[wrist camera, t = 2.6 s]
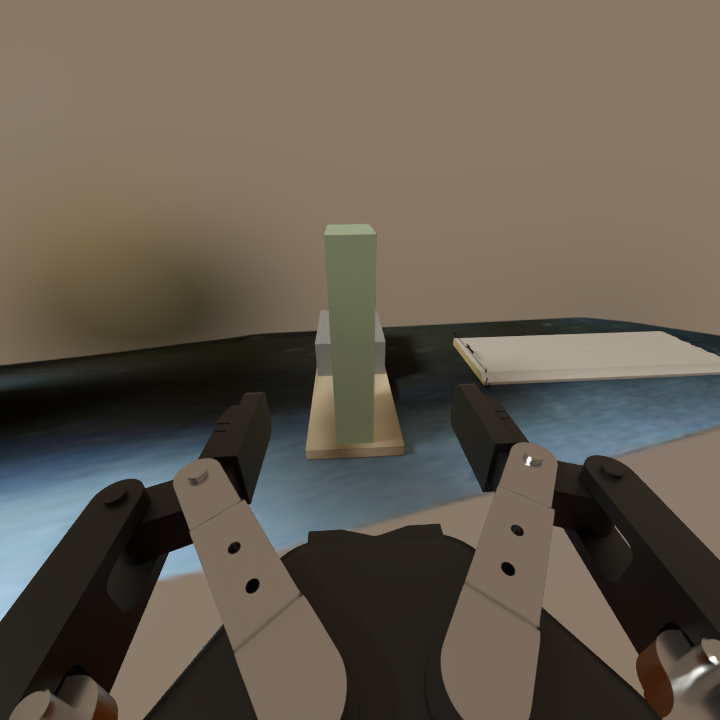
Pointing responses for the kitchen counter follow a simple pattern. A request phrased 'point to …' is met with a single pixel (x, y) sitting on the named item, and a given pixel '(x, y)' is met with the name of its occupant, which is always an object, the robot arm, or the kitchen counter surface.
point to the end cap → (325, 346)
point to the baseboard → (583, 357)
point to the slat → (352, 327)
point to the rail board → (324, 425)
